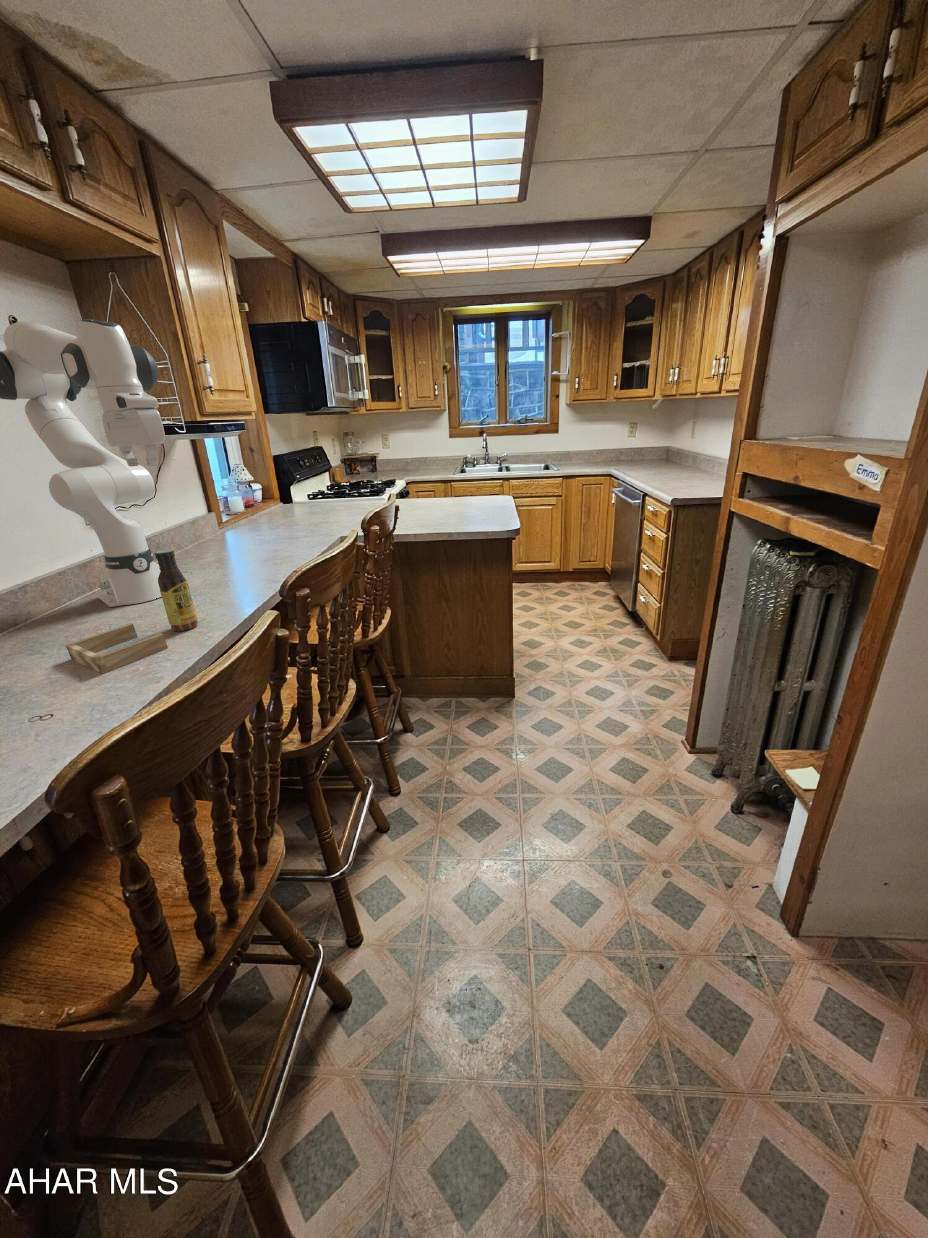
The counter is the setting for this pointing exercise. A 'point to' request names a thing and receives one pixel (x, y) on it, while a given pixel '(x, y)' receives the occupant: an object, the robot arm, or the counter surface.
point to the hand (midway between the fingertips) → (143, 466)
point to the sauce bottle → (175, 593)
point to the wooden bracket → (117, 658)
